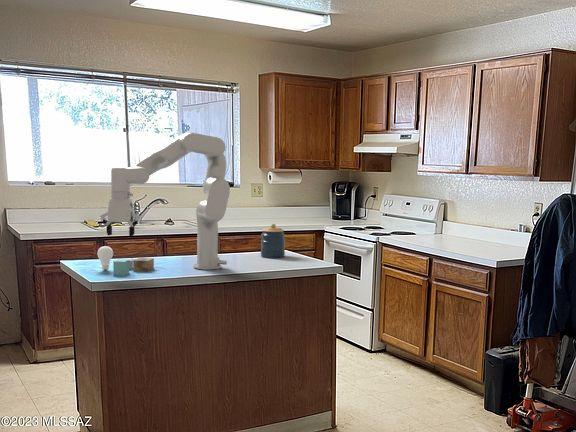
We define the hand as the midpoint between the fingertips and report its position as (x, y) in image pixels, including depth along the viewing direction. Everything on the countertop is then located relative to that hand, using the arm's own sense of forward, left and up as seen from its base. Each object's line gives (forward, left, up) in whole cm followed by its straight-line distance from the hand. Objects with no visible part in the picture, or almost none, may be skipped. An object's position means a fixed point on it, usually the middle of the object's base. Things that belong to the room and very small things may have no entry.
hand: (120, 235), depth 226 cm
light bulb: (+9, -6, -17) cm, 20 cm away
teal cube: (0, 0, -17) cm, 17 cm away
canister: (-60, -59, -17) cm, 86 cm away
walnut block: (-6, -11, -17) cm, 21 cm away
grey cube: (+2, -13, -17) cm, 21 cm away
